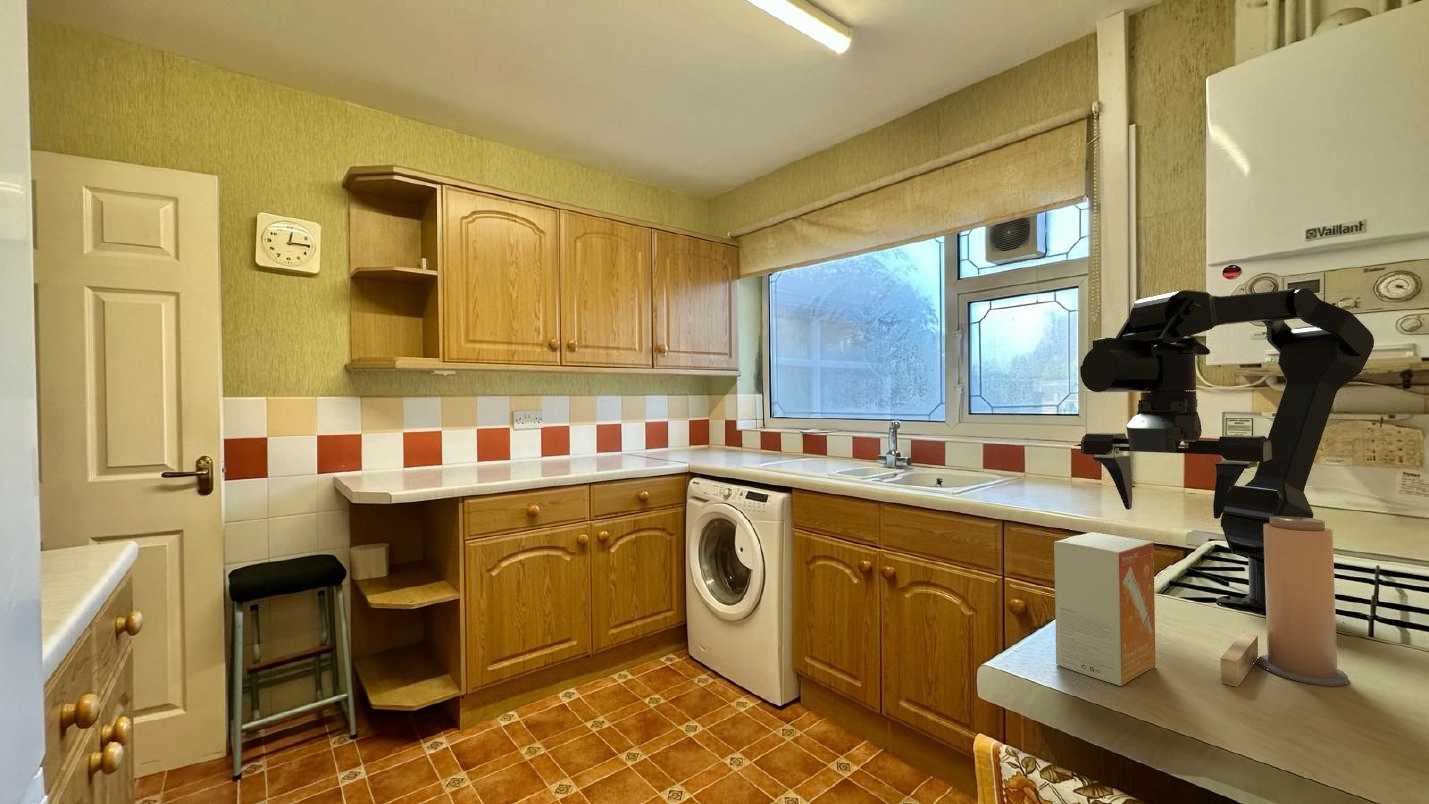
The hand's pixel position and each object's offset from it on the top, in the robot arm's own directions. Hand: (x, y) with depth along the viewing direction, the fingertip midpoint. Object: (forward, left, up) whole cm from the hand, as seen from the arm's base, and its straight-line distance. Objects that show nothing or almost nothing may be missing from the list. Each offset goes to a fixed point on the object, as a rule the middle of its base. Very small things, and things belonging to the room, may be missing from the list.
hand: (1170, 513), depth 76 cm
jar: (+10, +13, -13) cm, 20 cm away
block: (+14, +9, -13) cm, 21 cm away
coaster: (+10, +13, -13) cm, 21 cm away
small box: (+23, 0, -13) cm, 27 cm away
